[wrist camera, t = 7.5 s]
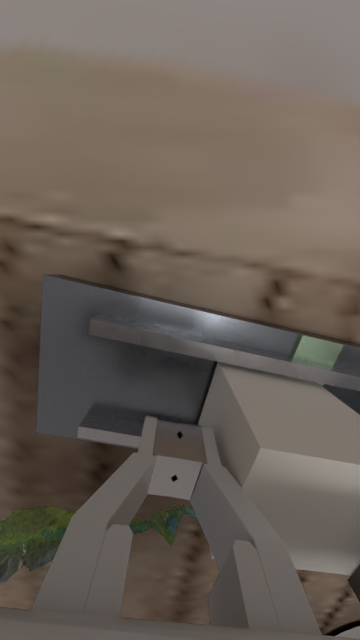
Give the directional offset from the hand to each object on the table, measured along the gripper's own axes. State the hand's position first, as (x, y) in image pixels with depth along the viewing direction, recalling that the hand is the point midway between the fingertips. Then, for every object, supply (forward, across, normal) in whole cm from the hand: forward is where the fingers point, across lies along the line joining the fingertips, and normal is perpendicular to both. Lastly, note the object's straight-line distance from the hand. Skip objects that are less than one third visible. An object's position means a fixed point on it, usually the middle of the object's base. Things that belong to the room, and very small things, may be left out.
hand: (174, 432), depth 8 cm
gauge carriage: (+3, -8, 0) cm, 8 cm away
